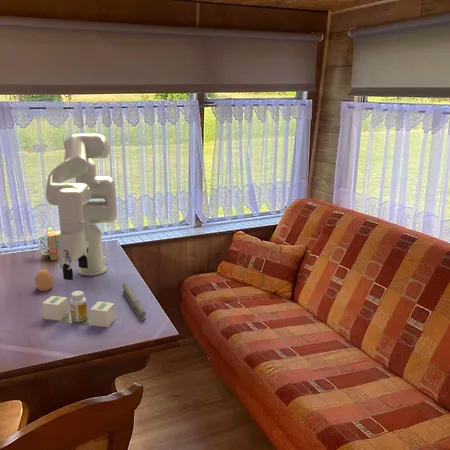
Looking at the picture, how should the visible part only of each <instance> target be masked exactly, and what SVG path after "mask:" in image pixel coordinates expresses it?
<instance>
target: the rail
mask: <svg viewBox="0 0 450 450" xmlns="http://www.w3.org/2000/svg"><path fill="white" fill-rule="evenodd" d="M116 319H117V318H116V317H115V320H116ZM43 320H45V321H50V322H51V321H53V322H60V323H67V324H73V325H81V326H89V327H94V328H95V327H97V328H103V329H108V327H101V326H94V325H91V316H90V314H87V319H86V320H84V321H80V322H75V321H73V320H72V319H71V311H69V313H68V314H67V315H66V316H64V317H63V318H62V319H61V320H60V321H58V320H50V319H44V318H43Z"/></svg>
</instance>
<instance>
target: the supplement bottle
mask: <svg viewBox="0 0 450 450" xmlns="http://www.w3.org/2000/svg"><path fill="white" fill-rule="evenodd" d="M84 295H85V294H84V291H82V290H74V291H73V292H71V295H70V296H71V298H70V300H69V308H70V312H71V319H72V320H73V321H75V322H80V321H84V320H86V319H87V315H88V305H87V298H86V297H85V296H84Z"/></svg>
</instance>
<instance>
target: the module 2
mask: <svg viewBox="0 0 450 450" xmlns="http://www.w3.org/2000/svg"><path fill="white" fill-rule="evenodd" d="M89 313H90V314H89V315H90V316H91V325H94V326H101V327H100V328H102V327H107V328H108V327H109V326H110V325H111V324H112V323H113V322H114V321H115V320H116V319H115V318H116V307H115V303H113V302H108V301H107V302H106V301H96V302H95V304H94V305H93V306H92V307H91V308H90V309H89ZM94 326H93V327H94Z"/></svg>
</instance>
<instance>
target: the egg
mask: <svg viewBox="0 0 450 450" xmlns="http://www.w3.org/2000/svg"><path fill="white" fill-rule="evenodd" d="M53 284H54V279H53V275H52V273H50V272H49V270H47V269H41V270H39V271H38V272H37V274H36V276H35V278H34V285H35V287H36V288H37V289H38V290H39V291H41V292H44V291H49V290H50V289H52V287H53Z"/></svg>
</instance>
